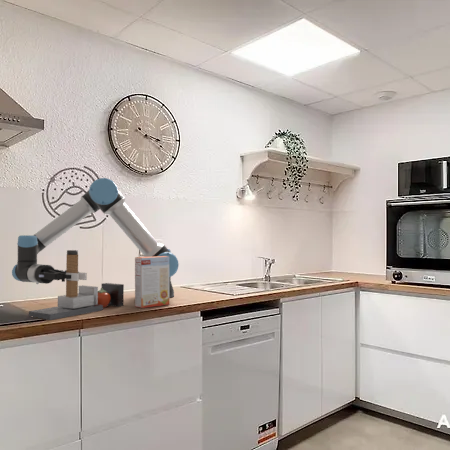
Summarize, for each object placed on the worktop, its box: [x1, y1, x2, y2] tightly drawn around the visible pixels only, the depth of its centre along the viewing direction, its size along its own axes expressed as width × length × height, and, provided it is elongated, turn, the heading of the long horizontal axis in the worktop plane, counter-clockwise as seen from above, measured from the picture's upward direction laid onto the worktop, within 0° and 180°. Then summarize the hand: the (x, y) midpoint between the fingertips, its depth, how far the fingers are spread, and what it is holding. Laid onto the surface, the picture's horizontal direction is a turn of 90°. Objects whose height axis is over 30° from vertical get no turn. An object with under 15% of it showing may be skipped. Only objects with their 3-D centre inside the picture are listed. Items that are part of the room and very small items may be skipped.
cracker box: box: [134, 256, 170, 309], centre depth 185 cm, size 14×6×21 cm, turn 131°
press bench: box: [28, 282, 125, 321], centre depth 172 cm, size 37×12×9 cm, turn 149°
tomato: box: [98, 288, 111, 309], centre depth 181 cm, size 7×7×8 cm
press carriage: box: [57, 249, 99, 309], centre depth 171 cm, size 12×9×22 cm
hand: (81, 276), depth 165 cm, fingers closed on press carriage, 3 cm apart
